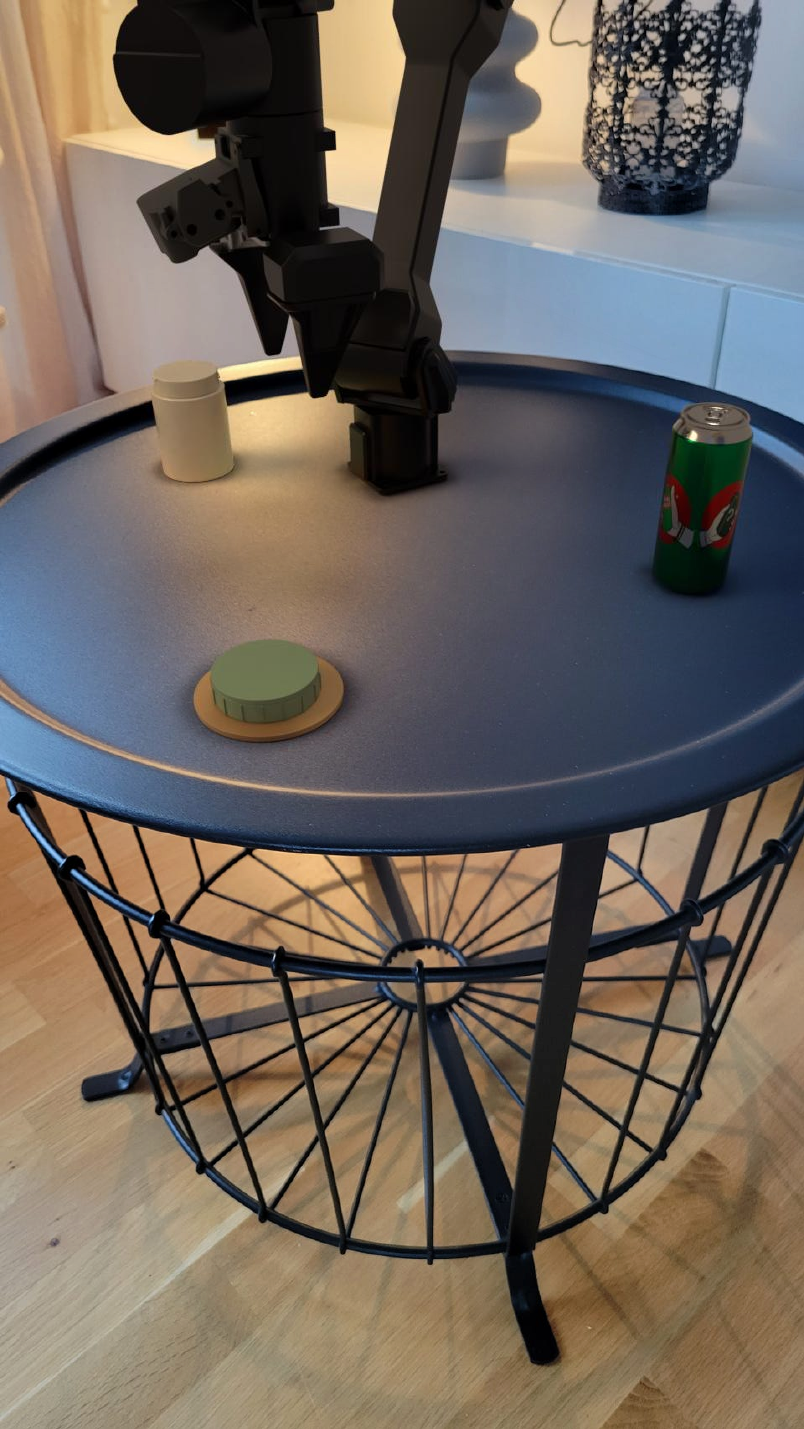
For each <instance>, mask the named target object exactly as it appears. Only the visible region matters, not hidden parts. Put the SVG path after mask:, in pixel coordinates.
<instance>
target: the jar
mask: <svg viewBox="0 0 804 1429" xmlns="http://www.w3.org/2000/svg"><path fill="white" fill-rule="evenodd" d="M151 378H152V380H153V384H154V385H153V386H152V387H151V388H150V396H151V402H152V407H153V414H154V421H155V427H156V433H157V439H158V446H159V452H160V457H161V464H162V470H163V473H164V475H165V476H166V477H168V478H169V479H172V480H174V481H177V482H183V483H186V482H187V483H199V482H207V481H213V480H216V479H219V478H221V477H224V476H226V475H227V474H229V473H230V472H231V471H232V470H233V469H234V467H235V466H234V465H235V463H234V455H233V445H232V437H231V429H230V428H231V427H230V421H229V413H228V404H227V395H226V387H225V383H224V382H223V380H222V379H221V375H220V372H219V369H218V367H217V365H216V364H215V363H212V362H209V361H207V360H206V361H205V360H200V359H184V360H177V361H175V360H174V361H170V362H167V363H164V364H162V365H160V366H157V368H155V369H154V370H153V372H152V374H151Z"/></svg>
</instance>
